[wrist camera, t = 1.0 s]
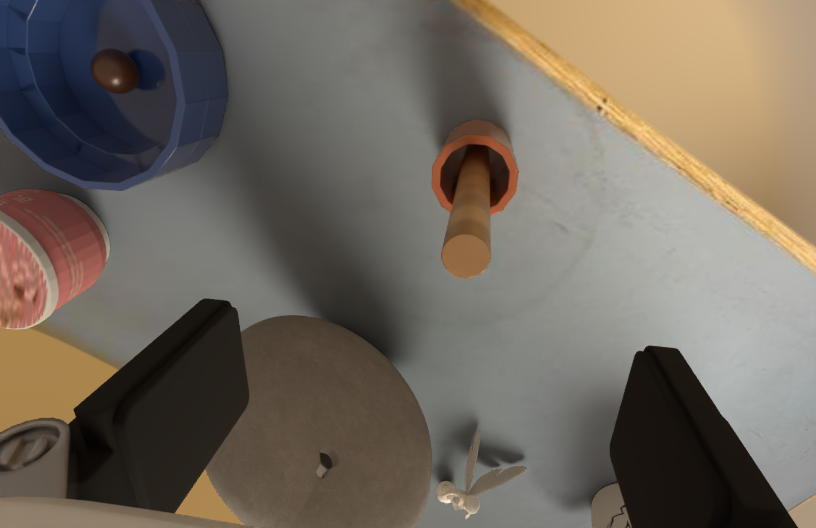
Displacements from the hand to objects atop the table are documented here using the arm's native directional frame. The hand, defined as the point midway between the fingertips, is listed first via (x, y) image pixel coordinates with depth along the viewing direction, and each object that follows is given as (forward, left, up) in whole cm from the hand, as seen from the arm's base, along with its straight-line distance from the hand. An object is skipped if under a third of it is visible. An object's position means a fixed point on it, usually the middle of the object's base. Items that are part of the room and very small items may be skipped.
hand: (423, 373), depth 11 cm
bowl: (-5, -25, -25) cm, 36 cm away
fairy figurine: (+31, +3, -26) cm, 40 cm away
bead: (-5, -25, -23) cm, 35 cm away
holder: (0, +1, -25) cm, 25 cm away
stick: (0, +1, -25) cm, 25 cm away
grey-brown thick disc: (+18, -8, -26) cm, 32 cm away
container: (+9, -35, -26) cm, 44 cm away
